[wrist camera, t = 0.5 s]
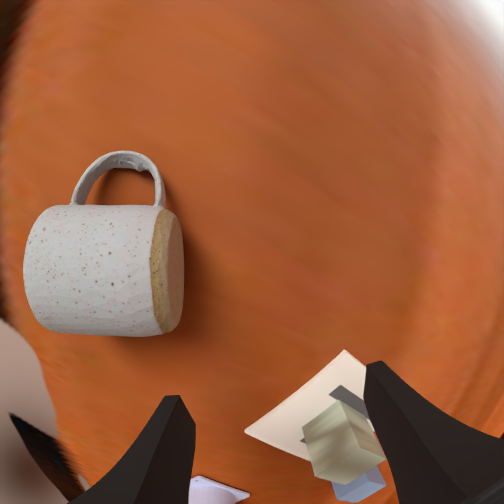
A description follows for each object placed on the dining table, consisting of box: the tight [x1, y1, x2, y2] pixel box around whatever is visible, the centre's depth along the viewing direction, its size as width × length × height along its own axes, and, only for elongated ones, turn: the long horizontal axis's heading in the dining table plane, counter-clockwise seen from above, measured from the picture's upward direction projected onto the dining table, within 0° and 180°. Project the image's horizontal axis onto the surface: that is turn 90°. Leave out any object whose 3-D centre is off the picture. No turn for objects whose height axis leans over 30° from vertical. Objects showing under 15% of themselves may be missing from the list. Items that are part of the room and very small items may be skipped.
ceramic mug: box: [23, 151, 184, 337], centre depth 15 cm, size 11×8×8 cm
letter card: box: [244, 349, 375, 461], centre depth 23 cm, size 12×12×1 cm
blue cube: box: [331, 466, 386, 503], centre depth 25 cm, size 4×4×4 cm
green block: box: [302, 400, 386, 485], centre depth 20 cm, size 4×4×6 cm
